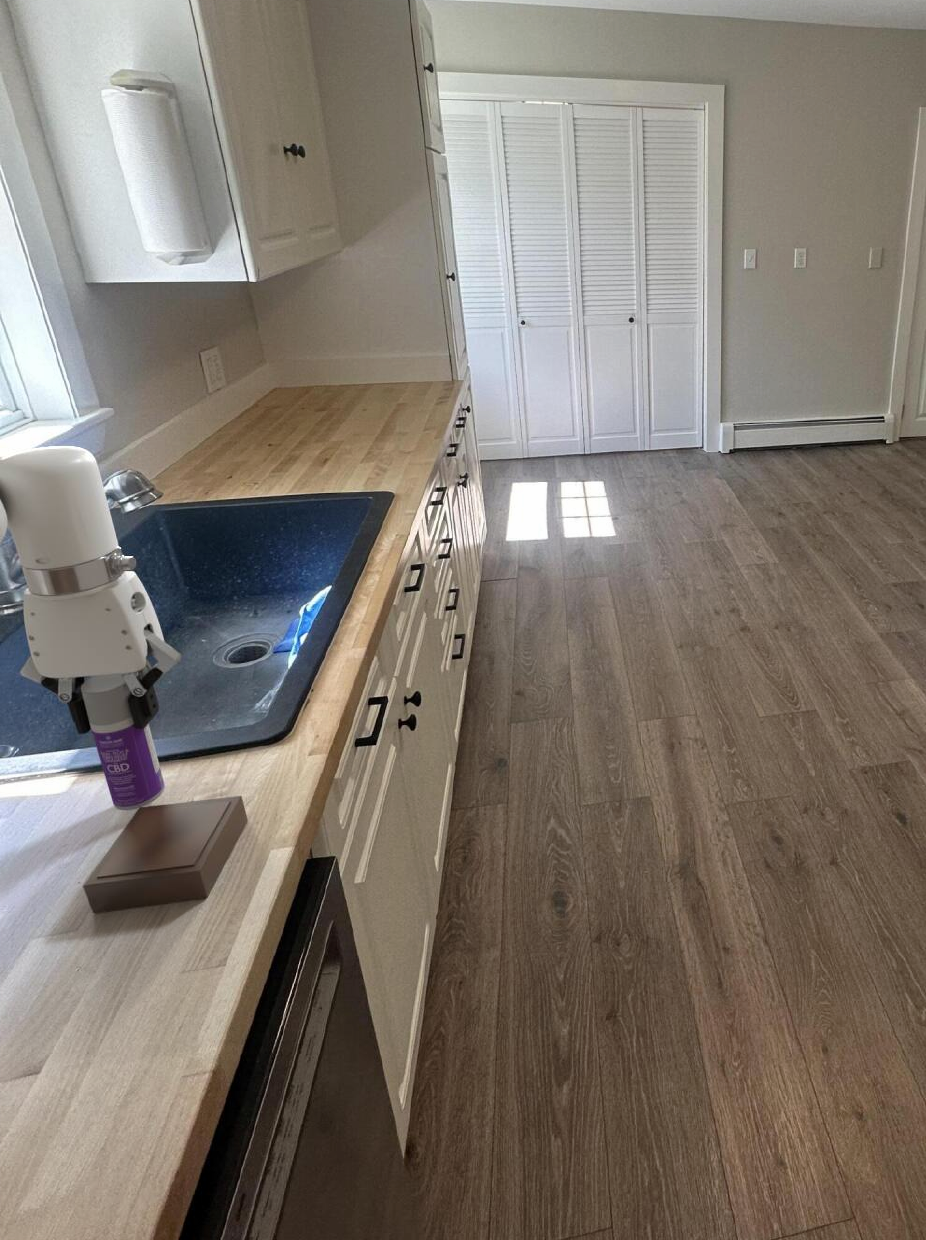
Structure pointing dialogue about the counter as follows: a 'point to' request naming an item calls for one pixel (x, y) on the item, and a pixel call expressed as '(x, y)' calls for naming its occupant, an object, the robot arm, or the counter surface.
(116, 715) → the container
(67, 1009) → the counter surface
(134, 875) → the riser
